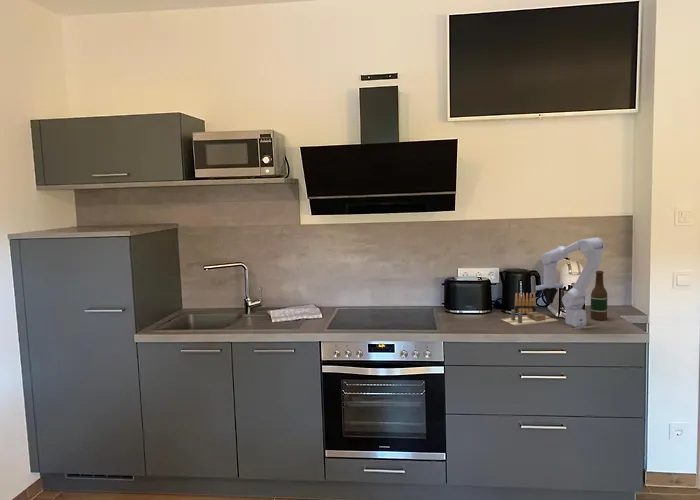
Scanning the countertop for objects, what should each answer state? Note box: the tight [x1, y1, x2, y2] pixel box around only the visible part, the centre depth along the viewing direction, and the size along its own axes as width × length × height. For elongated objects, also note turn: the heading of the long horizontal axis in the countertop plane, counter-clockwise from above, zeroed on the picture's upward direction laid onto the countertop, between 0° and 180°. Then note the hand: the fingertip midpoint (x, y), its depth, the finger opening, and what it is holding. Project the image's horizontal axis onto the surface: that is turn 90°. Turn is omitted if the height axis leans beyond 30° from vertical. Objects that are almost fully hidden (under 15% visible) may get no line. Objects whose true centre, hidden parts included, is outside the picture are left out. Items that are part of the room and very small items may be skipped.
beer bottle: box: [590, 270, 608, 322], centre depth 289 cm, size 8×8×24 cm
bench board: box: [500, 315, 559, 326], centre depth 289 cm, size 14×24×1 cm, turn 106°
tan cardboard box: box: [526, 311, 547, 321], centre depth 290 cm, size 8×5×2 cm, turn 16°
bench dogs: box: [510, 308, 523, 323], centre depth 287 cm, size 8×2×6 cm, turn 16°
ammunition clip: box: [514, 292, 537, 314], centre depth 303 cm, size 11×2×12 cm, turn 78°
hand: (549, 303), depth 291 cm, fingers closed
